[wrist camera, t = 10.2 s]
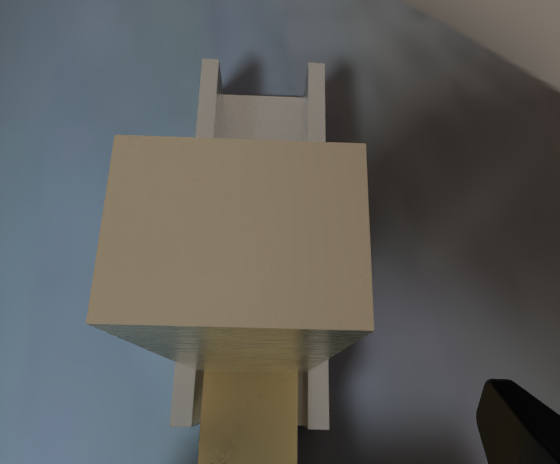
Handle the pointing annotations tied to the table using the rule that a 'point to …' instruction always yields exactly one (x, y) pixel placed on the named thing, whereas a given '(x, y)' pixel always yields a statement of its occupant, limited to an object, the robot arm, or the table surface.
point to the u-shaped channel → (258, 126)
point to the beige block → (237, 273)
